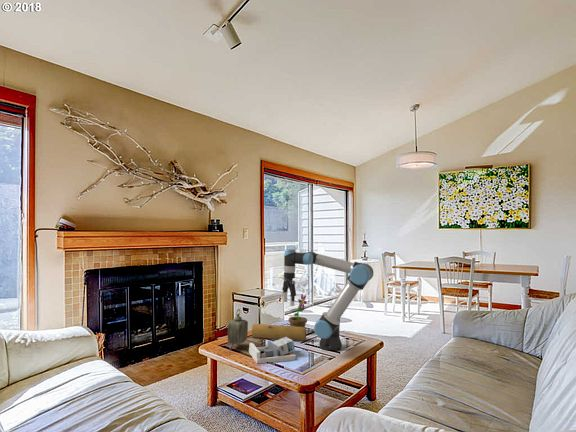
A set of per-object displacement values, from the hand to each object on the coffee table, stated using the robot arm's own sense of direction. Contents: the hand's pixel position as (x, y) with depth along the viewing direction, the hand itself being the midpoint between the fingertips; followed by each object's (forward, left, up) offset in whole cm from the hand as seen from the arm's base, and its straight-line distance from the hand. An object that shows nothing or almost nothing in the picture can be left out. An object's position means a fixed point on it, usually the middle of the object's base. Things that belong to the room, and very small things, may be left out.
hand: (288, 303), depth 237 cm
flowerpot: (-19, -30, -29) cm, 46 cm away
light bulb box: (+12, +11, -25) cm, 30 cm away
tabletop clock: (+32, -8, -29) cm, 44 cm away
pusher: (+16, +12, -28) cm, 35 cm away
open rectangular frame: (+15, +12, -29) cm, 35 cm away
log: (-1, -19, -29) cm, 35 cm away
